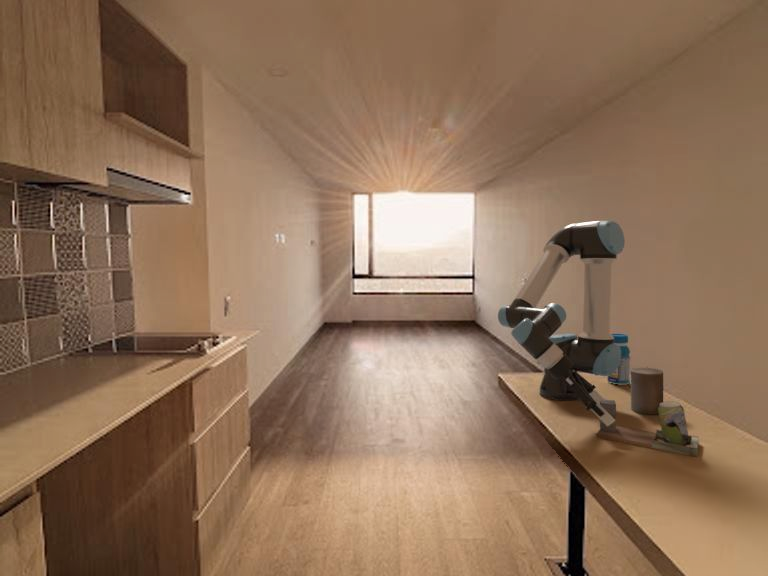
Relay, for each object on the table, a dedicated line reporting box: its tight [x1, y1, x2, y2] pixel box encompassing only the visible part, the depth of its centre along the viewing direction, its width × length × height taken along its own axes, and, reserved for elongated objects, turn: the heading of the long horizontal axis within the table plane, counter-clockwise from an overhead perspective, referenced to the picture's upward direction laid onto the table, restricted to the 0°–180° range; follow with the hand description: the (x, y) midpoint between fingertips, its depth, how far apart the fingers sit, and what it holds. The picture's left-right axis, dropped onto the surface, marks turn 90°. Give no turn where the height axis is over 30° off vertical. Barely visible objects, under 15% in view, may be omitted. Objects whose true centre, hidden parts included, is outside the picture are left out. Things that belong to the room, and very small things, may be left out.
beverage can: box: [658, 400, 691, 446], centre depth 125 cm, size 6×7×12 cm
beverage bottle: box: [607, 333, 631, 386], centre depth 188 cm, size 8×8×20 cm
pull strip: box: [596, 398, 700, 458], centre depth 129 cm, size 10×24×10 cm, turn 53°
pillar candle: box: [630, 366, 664, 416], centre depth 154 cm, size 10×10×15 cm
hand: (609, 415), depth 135 cm, fingers open, 13 cm apart
